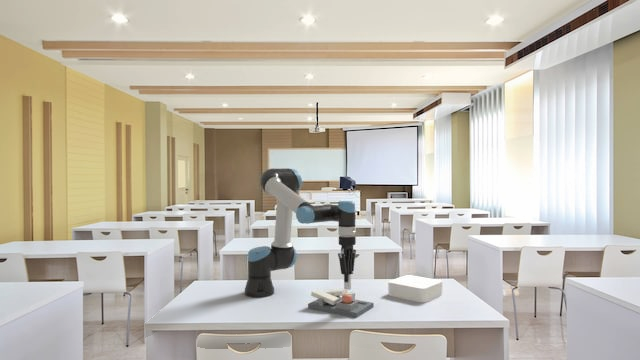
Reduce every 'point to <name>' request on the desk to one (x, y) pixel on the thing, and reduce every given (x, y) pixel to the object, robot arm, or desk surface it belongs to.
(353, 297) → the block
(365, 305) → the panel
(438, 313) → the desk surface
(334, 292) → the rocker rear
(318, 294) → the block
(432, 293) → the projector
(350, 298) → the button
